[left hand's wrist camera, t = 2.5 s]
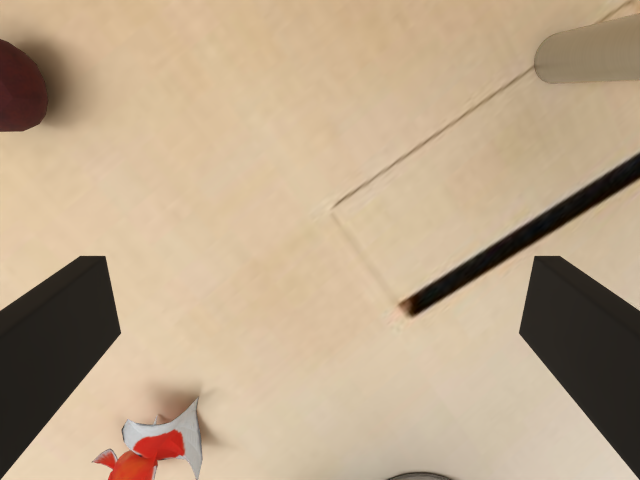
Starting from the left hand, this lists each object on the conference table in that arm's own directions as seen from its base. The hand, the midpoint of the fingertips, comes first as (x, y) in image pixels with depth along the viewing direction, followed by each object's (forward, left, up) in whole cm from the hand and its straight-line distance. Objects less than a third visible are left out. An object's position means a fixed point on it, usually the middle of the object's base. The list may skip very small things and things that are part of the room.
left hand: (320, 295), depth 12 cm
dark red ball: (+6, +27, -28) cm, 39 cm away
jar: (+9, -21, -28) cm, 36 cm away
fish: (-33, +20, -28) cm, 48 cm away
